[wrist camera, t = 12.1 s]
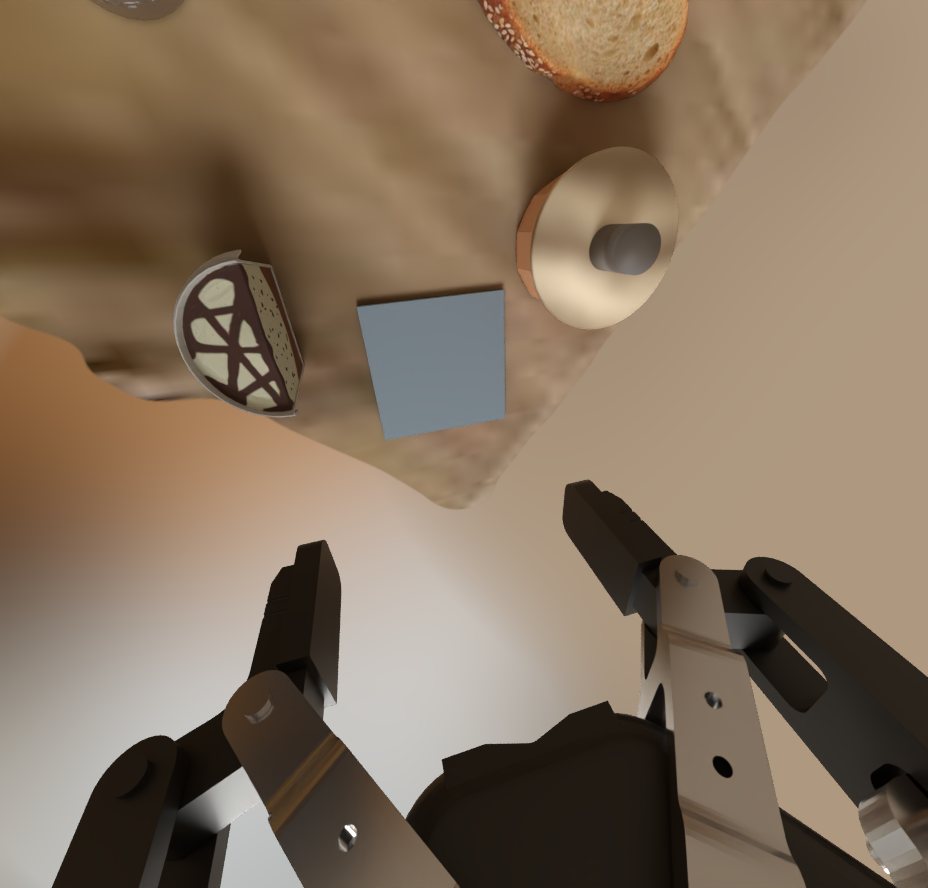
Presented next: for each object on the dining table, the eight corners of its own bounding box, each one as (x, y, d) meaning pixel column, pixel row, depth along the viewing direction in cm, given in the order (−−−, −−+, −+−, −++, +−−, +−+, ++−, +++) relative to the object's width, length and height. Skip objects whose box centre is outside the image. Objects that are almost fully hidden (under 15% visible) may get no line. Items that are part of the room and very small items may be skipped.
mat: (356, 306, 35) (356, 307, 35) (502, 289, 38) (503, 289, 37) (384, 437, 43) (385, 440, 43) (503, 416, 46) (505, 418, 45)
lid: (532, 152, 28) (564, 137, 23) (688, 144, 30) (745, 129, 26) (528, 336, 35) (552, 351, 30) (654, 318, 37) (693, 329, 33)
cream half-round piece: (187, 253, 30) (122, 261, 22) (265, 245, 31) (231, 250, 23) (246, 390, 37) (213, 436, 28) (309, 379, 38) (295, 421, 29)
